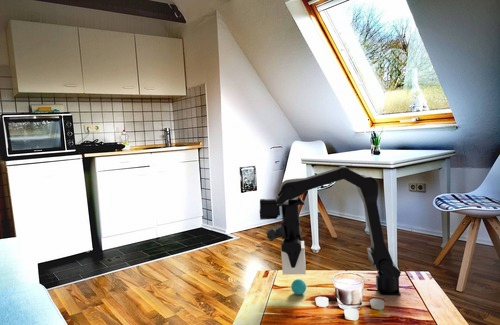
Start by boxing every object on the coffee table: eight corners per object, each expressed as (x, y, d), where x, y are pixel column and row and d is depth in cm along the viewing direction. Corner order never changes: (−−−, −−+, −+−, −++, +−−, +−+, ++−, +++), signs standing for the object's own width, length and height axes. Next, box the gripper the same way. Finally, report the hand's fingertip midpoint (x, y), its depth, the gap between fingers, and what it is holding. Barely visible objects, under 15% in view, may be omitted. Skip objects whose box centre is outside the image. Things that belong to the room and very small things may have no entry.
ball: (298, 273, 126) (288, 283, 127) (298, 280, 121) (287, 289, 122) (309, 284, 126) (298, 293, 127) (309, 291, 121) (298, 300, 122)
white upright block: (284, 265, 128) (282, 241, 127) (305, 265, 127) (304, 240, 126) (282, 274, 121) (281, 248, 120) (305, 274, 120) (304, 248, 119)
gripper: (269, 211, 132) (272, 253, 134) (263, 226, 114) (267, 274, 116) (300, 210, 131) (302, 253, 132) (299, 225, 112) (302, 274, 114)
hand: (293, 262), depth 124 cm, fingers closed on white upright block, 7 cm apart
